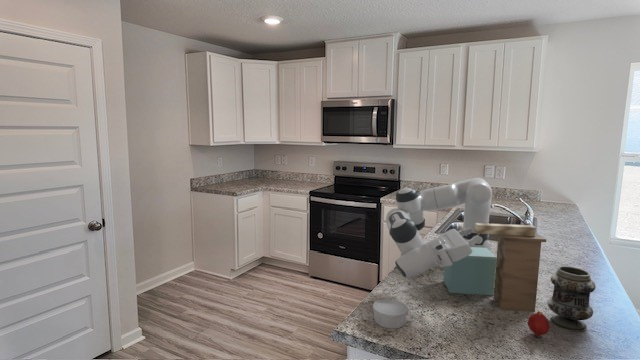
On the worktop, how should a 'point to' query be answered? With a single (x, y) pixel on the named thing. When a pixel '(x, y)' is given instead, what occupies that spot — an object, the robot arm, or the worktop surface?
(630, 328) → the worktop surface
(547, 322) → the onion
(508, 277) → the tall stand
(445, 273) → the low block
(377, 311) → the ramekin
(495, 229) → the rod
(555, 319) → the apothecary jar
